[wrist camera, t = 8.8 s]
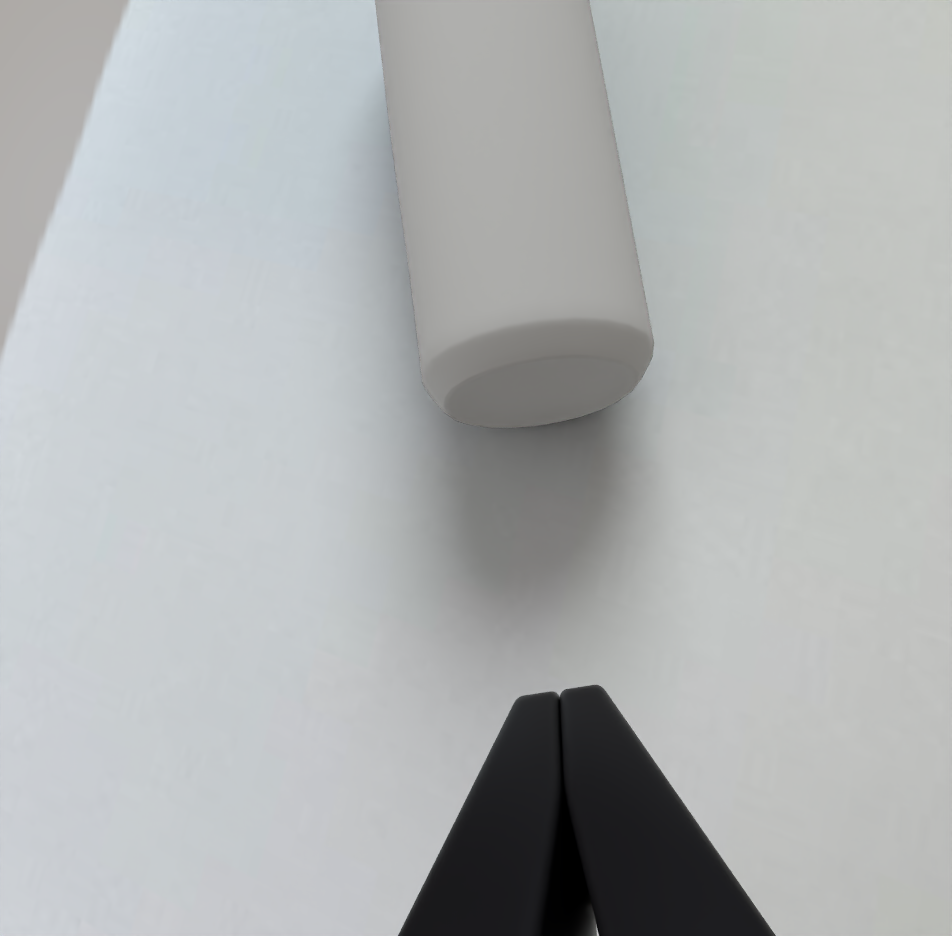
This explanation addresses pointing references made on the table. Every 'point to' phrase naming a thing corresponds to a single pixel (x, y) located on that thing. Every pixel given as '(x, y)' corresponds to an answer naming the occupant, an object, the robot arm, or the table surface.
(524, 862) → the robot arm
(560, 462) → the table surface
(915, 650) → the table surface
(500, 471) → the table surface
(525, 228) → the beverage can
